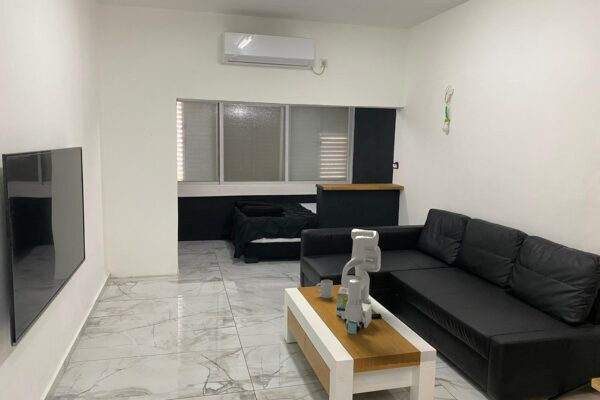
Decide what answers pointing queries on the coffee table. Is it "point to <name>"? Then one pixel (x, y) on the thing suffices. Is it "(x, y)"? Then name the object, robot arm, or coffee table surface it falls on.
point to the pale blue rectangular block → (353, 327)
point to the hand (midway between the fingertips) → (353, 330)
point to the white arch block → (367, 313)
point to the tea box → (342, 300)
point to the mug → (325, 288)
